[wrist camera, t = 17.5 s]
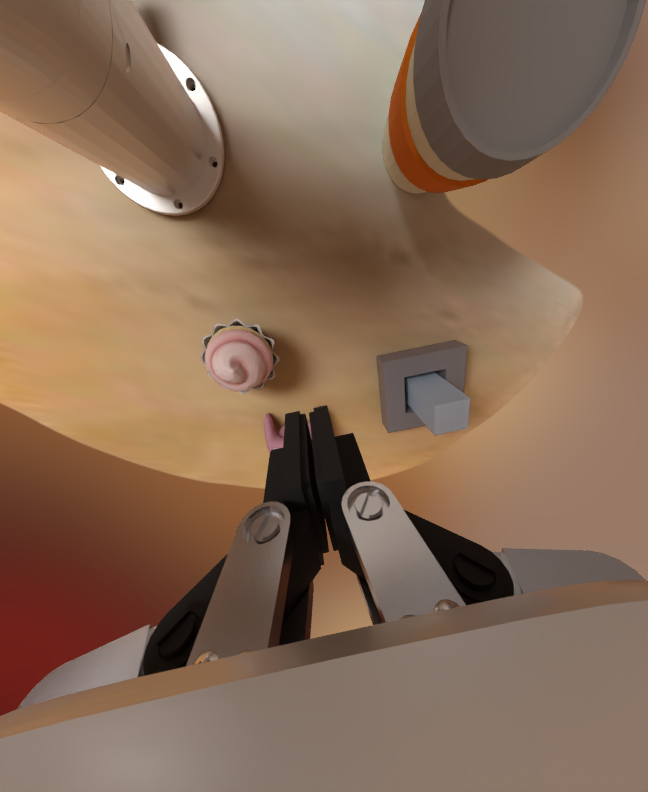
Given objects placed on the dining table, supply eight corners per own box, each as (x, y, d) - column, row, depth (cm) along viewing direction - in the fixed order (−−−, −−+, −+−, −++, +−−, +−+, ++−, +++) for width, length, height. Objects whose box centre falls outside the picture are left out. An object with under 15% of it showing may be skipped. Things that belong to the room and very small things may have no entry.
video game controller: (268, 426, 43) (268, 465, 39) (262, 411, 39) (261, 453, 35) (326, 418, 44) (332, 456, 39) (325, 402, 40) (332, 443, 36)
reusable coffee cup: (485, 183, 30) (640, 111, 16) (384, 231, 31) (453, 201, 18) (470, 28, 24) (686, -270, 11) (349, 94, 25) (409, -103, 12)
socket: (376, 356, 38) (382, 362, 35) (455, 340, 38) (467, 345, 35) (382, 423, 43) (388, 433, 41) (451, 408, 43) (461, 417, 41)
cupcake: (293, 360, 37) (293, 388, 28) (239, 389, 38) (221, 425, 29) (257, 299, 33) (242, 309, 24) (197, 334, 34) (162, 356, 25)
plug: (402, 375, 39) (434, 406, 30) (430, 369, 39) (470, 398, 30) (404, 400, 41) (434, 435, 32) (430, 394, 41) (468, 428, 32)
